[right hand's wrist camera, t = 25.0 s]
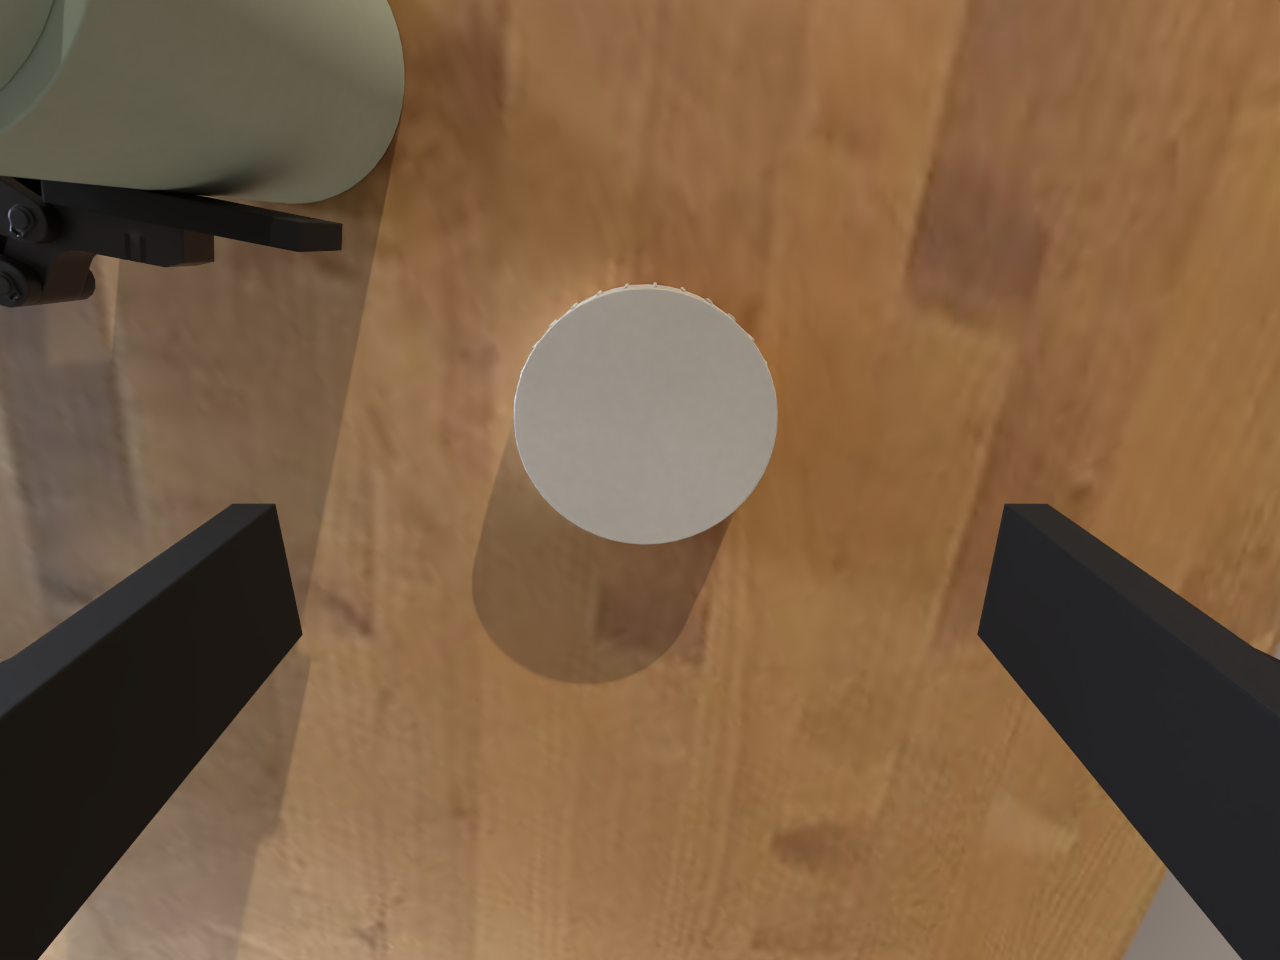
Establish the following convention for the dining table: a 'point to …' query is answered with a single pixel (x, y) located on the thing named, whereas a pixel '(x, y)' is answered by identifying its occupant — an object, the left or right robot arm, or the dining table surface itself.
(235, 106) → the jar
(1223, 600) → the dining table surface
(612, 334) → the lid
